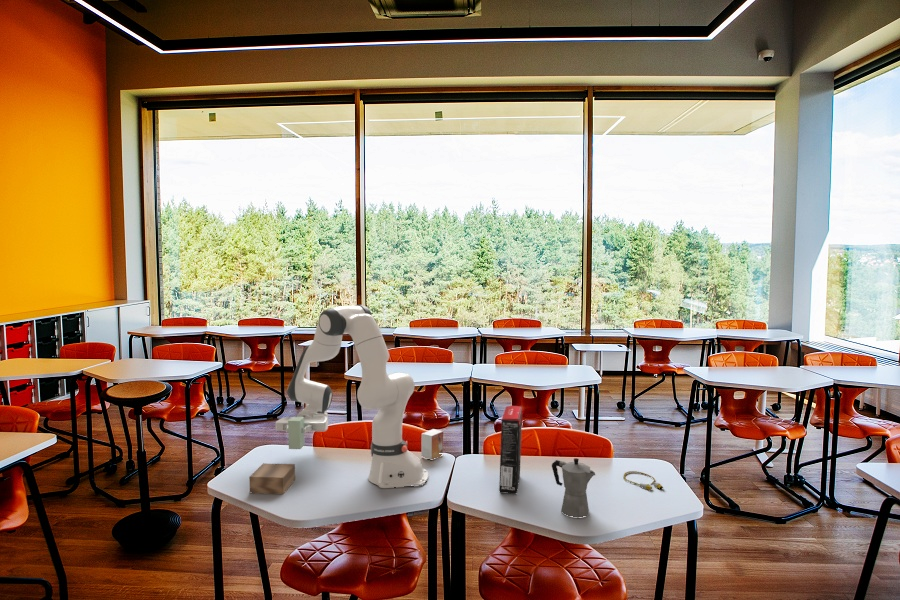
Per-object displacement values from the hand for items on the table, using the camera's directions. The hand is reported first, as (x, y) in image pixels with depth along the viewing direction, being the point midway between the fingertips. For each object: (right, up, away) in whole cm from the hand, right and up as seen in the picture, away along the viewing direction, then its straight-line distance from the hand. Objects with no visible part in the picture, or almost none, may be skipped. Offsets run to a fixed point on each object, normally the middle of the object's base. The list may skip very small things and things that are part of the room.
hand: (295, 430), depth 206 cm
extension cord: (+130, -18, -6) cm, 132 cm away
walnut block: (-5, -17, -11) cm, 21 cm away
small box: (+52, -15, +17) cm, 57 cm away
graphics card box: (+81, -18, -9) cm, 84 cm away
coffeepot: (+99, -19, -29) cm, 105 cm away
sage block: (0, -6, +1) cm, 7 cm away
